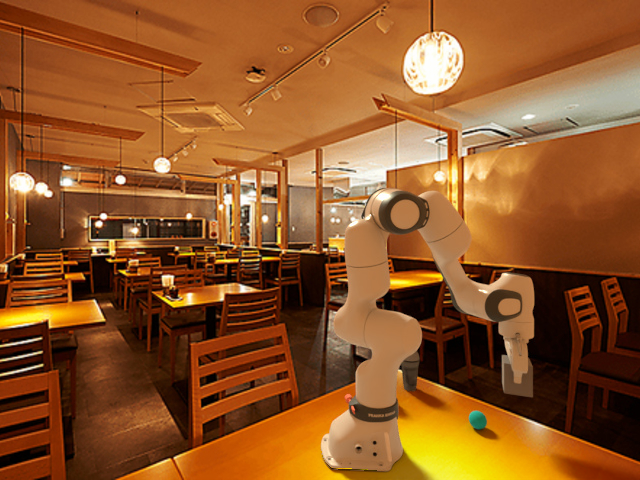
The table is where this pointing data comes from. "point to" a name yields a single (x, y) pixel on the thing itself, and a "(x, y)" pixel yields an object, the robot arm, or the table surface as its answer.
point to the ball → (477, 420)
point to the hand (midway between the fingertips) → (515, 376)
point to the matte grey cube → (508, 383)
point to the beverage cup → (410, 371)
